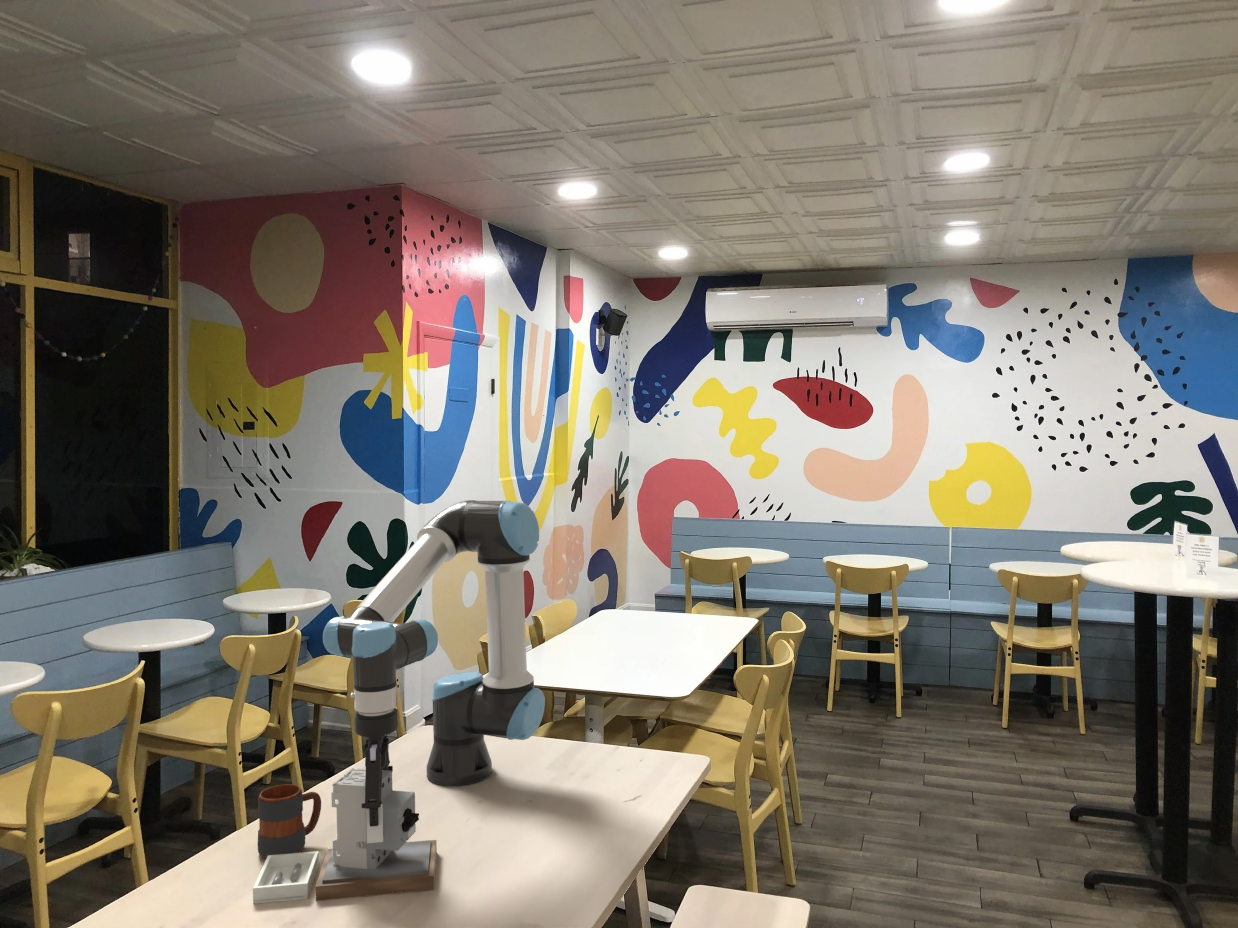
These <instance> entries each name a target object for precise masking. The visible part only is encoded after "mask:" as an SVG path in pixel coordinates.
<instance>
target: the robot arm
mask: <svg viewBox="0 0 1238 928" xmlns="http://www.w3.org/2000/svg"><path fill="white" fill-rule="evenodd" d="M539 540H540V527H539V521H538V518H537V516H536V514H535V512H534V511H533V509H531V507H530V506H529V505H527V504H526V503H524V502H517V501H511V500H472V499H471V500H470V499H469V500H468V499H467V500H463V501H459V502H457V503H454V504H453V505H450V506H449V507H446V508H445V509H443V510H442V511H440V512H439V513H438V514H436V515H435V516H433V517H432V518H431V519H430V520H428V522H427V523H426V524H425V525H424V526H422V528H421V529H420V530H419V531H418V532H417V536H416V541H415V542H414V543H413V545H411V547H410V548H409V549H408V550H407V551H406V552H405V553H404V555H402V557H400V559H399V560H398V561H397V562H396V563H395V565H394V566H393V567H392V568H391V569H390V570H389V571H388V572H387V573H386V574H385V576H384V577H382V578H381V580H380V581H379V582H378V583H377V584H376V585H375V586H374V587H373V589H372V590H371V591H370V592H369V593H368V594H367V596H366V597H364V599H363V600H361V602H360V603H359V604H358V605H357V607H355V609H354V610H353V611H352V612H351V613H350V614H349V615H348V616H343V615H342V616H336V617H335V616H334V617H333V618H332V619H330V620H329V621H327V623H326V625H325V626H324V629H323V632H322V642H323V646H324V648H325V650H326V651H327V652H328V653H330V654H331V655H335V656H339V657H342V658H343V657H344V658H352V666H353V667H352V668H353V669H352V670H353V671H352V672H353V692H351V693H350V698H351V699H354V700H353V703H354V705H353V706H354V711H355V713H354V715H353V716H354V717H353V718H354V719H353V720H354V731H355V734H356V735H357V736H359V737H365V738H367V739H365V744H364V755H365V760H364V765H365V769H366V779H365V803H362V808H365V809H366V826H367V843H377V842H383V808H382V802H381V793H382V770H389V771H392V773H393V771H394V769H393V765H390V763H391V761H390V755H389V754H390V753H389V745H390V744H389V743H390V740H389V737H388V735H390V734H392V733H394V732H395V731H396V730H397V729H398V726H399V725H398V724H399V722H398V721H399V720H398V709H397V708H396V707H397V706H398V684H397V670H400V669H402V668H405V667H407V666H409V665H411V664H414V663H416V662H421V661H423V660H424V659H426V658H427V657H429V656H431V655H432V654H433V653H435V651H436V650H437V647H438V644H439V637H438V632H437V629H436V627H435V626H434V625H433V624H432V623H431V622H430V621H428V620H425V619H416V620H415V619H412V620H410V621H408V622H397V621H396V619H397V618H398V617H399V615H401V613H402V612H403V611H404V610H405V608H407V606H408V605H409V604H411V603H410V602H412V600H413V599H414V598H415V597H416V596H417V594H418V593H419V592H420V591H421V589H423V587H424V586H425V585H426V583H428V581H429V580H430V579H431V578H432V576H434V574H436V572H437V571H438V570H439V568H440V567H441V566H442V565H443V563H447V562H450V561H452V560H453V559H454V557H456V555H458V554H461V553H463V552H472V553H474V552H475V553H477V564H479V565H480V566H481V567H482V568H483V570H484V576H485V577H484V579H485V580H484V581H485V606H486V608H485V609H486V626H487V627H486V630H487V636H486V637H487V650H488V651H487V654H488V655H487V657H488V658H487V659H488V673H487V674H486V675H485V677H484V676H483V674H482V673H480V672H478V671H469V672H468V671H467V672H460V673H455V674H454V673H453V674H450V675H446V676H444V677H443V676H442V677H441V678H439V679H438V680H436V681H435V683H433V687H432V689H433V690H432V698H431V702H432V722H433V723H432V725H433V726H432V727H433V745H432V748H431V751H430V754H429V756H428V761H427V763H426V778H427V780H428V781H429V782H432V783H433V784H437V785H441V786H450V787H451V786H452V787H454V786H458V787H459V786H464V785H465V786H466V785H471V784H475V783H479V782H481V781H483V780H485V779H487V778H489V777H490V776H491V775H492V773H493V764H492V763H493V761H492V759H491V756H490V752H489V751H488V747H487V744H486V742H485V736H489V737H495V738H502V739H506V740H507V739H508V740H509V741H512V740H517V741H524V740H527V739H530V738H531V737H532V736H533V735H534V734H535V733H536V732H537V730H538V728H539V726H540V724H541V722H542V720H543V716H544V714H545V713H544V712H545V705H546V699H545V694H544V692H543V691H542V690H541V689H540V688H538V687H535V681H534V680H535V678H534V675H533V674H531V672H530V671H528V666H527V641H526V640H527V638H526V636H527V635H526V610H525V609H526V608H525V605H526V604H525V581H524V578H525V577H524V567H525V566H526V565H527V564H528V563H529V562H530V559H531V558H530V555H532V554H533V553H534V552H535V551H536V549H537V548H538V542H539ZM373 799H376V800H373Z"/></svg>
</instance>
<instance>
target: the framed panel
mask: <svg viewBox="0 0 1238 928" xmlns="http://www.w3.org/2000/svg"><path fill="white" fill-rule="evenodd" d="M336 855H337V851H336ZM437 855H438V854H437V839H432V840H431V839H428V840H417V841H415V840H414V841H406V843H405V844H404V845H403V846H402V847H401V848H400V849H399V850H398V851H392V852H391V853H390V854H389V855H388V856H387V857H386V858H385V859H384V861H383V862H382V863H381V864H380V865H379V866H378V867H377V868H376V869H375V870H374V869H362V868H350V867H340V865H336V866H333V864H334V858H333V848H327V850H326V854H325V856H324V860H323V863H322V866H321V868H320V871H319V875H318V878H317V880H316V884H315V902H317V901H318V902H319V901H327V900H338V899H349V898H359V897H370V896H380V895H381V896H382V895H390V894H403V893H414V892H423V891H425V892H427V891H434V890H435V883H436V882H435V880H436V869H437V868H436V866H437Z"/></svg>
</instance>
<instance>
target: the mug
mask: <svg viewBox="0 0 1238 928" xmlns="http://www.w3.org/2000/svg"><path fill="white" fill-rule="evenodd" d="M309 800H312V801H313V802H312V803H313V806H312V812H311V815H310V818H309V822H308V823H307V824H306V826H305V823H304V821H303V811H304V806H303V805H304V802H307V801H309ZM257 806H258V807H257V808H258V809H257V817H258V818H257V819H259V823H258V824H259V828H258V831H257V853H258V854H259V855H260V857H261V858H263V859H264V860H266V859H267V857H268V855H279V854H291V853H302V851H303V849H304V847H305V846H306V836H308V835H309V834H311V833H312V832H313V831H314V829H316V827H317V824H318V822H319V820H320V819H319V818H320V815H321V812H322V811H321V810H322V799H321V795H320V794H319V793H318V792H316V791H309V792H306V793H303V790H302V788H301V786H299V785H296V784H290V783H289V784H287V783H285V784H279V785H278V784H277V785H274V786H270V787H267V788H265V789H263V790H262V791H261V792H260V793H259V795H258V797H257Z"/></svg>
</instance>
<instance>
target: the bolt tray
mask: <svg viewBox="0 0 1238 928" xmlns="http://www.w3.org/2000/svg"><path fill="white" fill-rule="evenodd" d="M319 854H320V853H319V851H318V850H316V851H304V852H300V853H291V854H279V855H268V857H267V859H265V861H264V863H263V865H262V868H261V870H260V872H259V874H258V876H257V878H256V880H255V883H254V885H253V886H252V903H253V904H254V903H255V904H264V903H265V904H267V903H276V902H285V901H286V902H287V901H297V900H298V901H299V900H306V899H309V896H310V893H311V891H312V887H313V885H314V882H315V878H316V875H317V872H318V870H319V866H320V857H319V856H320V855H319Z"/></svg>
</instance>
